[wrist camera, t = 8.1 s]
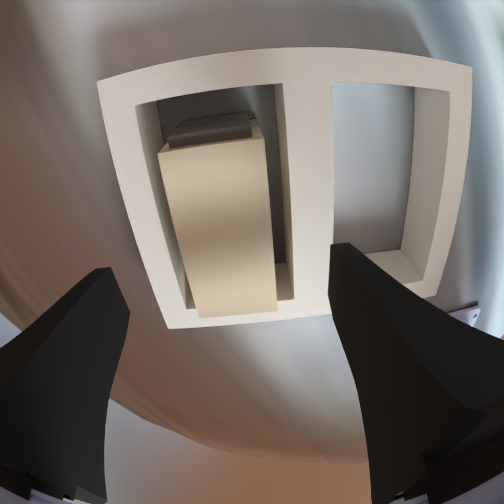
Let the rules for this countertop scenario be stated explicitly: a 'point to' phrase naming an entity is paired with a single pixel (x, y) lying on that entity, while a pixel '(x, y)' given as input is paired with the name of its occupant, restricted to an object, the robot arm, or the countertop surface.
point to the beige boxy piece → (222, 213)
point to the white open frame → (295, 165)
